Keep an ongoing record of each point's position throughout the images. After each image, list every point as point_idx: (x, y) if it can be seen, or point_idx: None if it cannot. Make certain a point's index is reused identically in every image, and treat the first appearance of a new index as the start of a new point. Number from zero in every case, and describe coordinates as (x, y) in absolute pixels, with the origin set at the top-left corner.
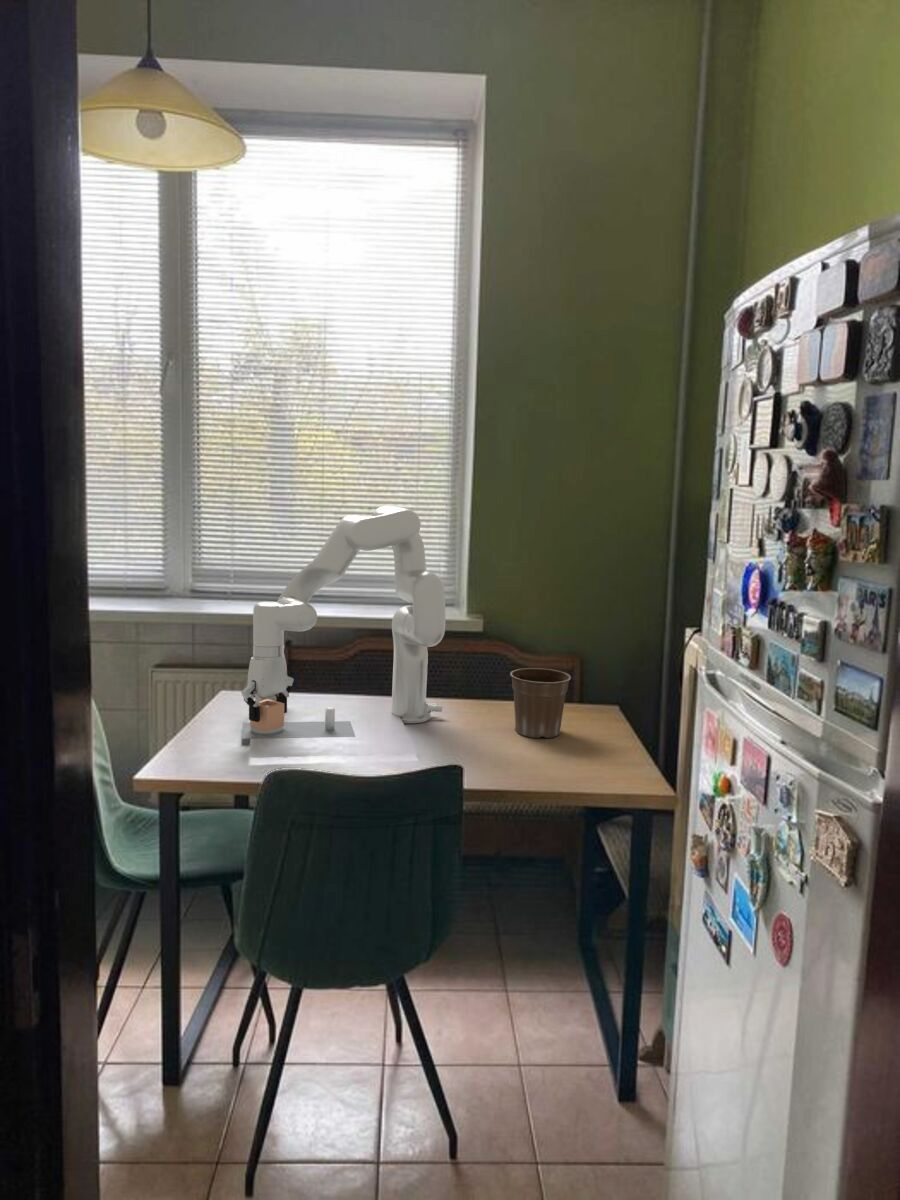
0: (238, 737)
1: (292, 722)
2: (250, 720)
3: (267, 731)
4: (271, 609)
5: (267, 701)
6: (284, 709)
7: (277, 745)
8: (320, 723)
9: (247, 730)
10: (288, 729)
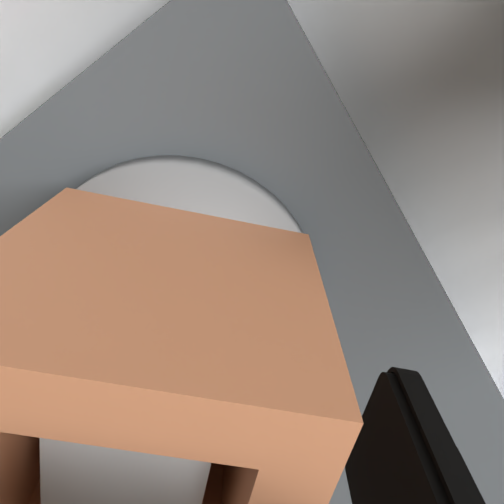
0: (8, 94)
1: (460, 352)
2: (33, 216)
3: None
4: None
5: (257, 457)
6: (354, 494)
7: None
8: (502, 492)
9: (62, 157)
10: None
